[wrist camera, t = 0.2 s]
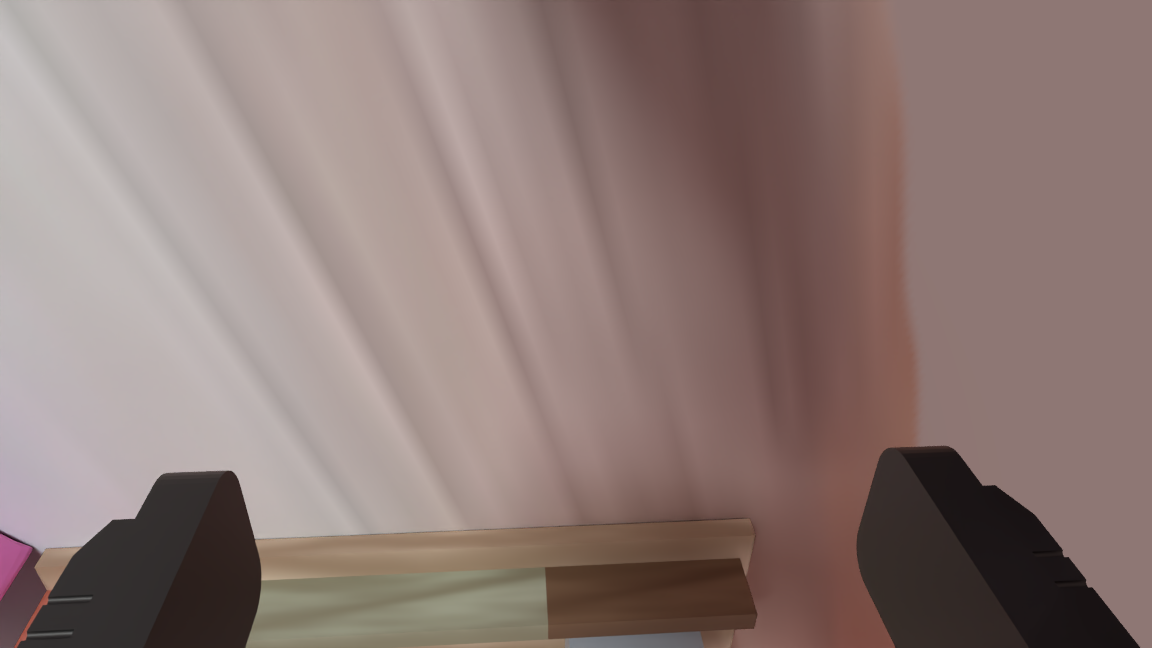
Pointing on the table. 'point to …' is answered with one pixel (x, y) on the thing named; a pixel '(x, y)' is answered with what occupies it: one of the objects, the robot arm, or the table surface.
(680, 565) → the track
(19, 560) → the gum box
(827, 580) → the table surface
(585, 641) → the slate block
